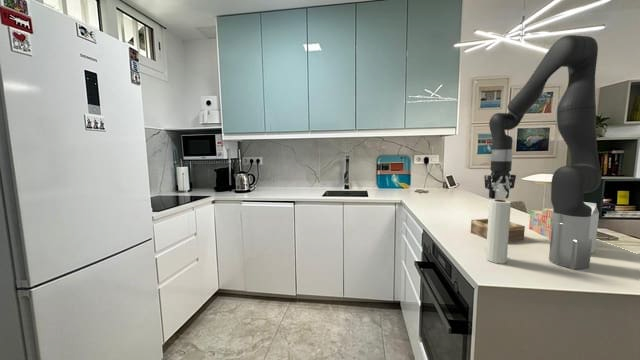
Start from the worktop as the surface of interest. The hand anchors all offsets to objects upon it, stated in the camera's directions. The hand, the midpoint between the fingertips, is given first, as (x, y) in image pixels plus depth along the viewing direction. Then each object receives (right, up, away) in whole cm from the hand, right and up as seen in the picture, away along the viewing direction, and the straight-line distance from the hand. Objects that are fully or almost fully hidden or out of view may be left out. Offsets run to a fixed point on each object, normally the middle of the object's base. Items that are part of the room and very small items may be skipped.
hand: (498, 198), depth 116 cm
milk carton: (+20, -19, -16) cm, 32 cm away
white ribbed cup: (0, -1, 0) cm, 1 cm away
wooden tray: (0, -18, +2) cm, 18 cm away
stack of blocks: (+25, -17, +2) cm, 30 cm away
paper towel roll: (-17, -20, -23) cm, 35 cm away
